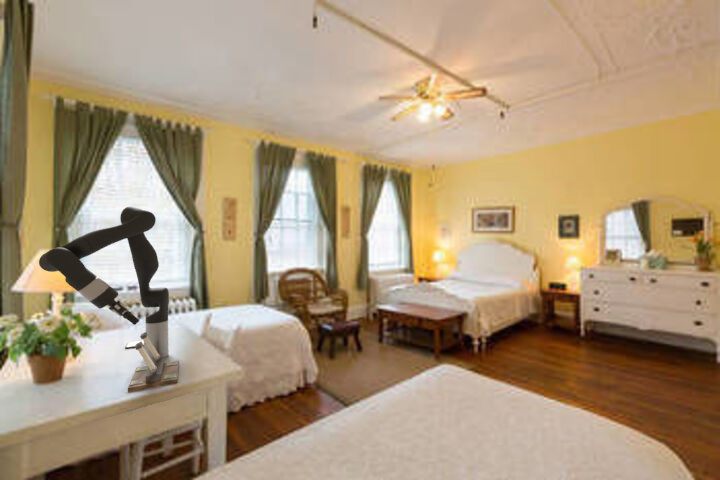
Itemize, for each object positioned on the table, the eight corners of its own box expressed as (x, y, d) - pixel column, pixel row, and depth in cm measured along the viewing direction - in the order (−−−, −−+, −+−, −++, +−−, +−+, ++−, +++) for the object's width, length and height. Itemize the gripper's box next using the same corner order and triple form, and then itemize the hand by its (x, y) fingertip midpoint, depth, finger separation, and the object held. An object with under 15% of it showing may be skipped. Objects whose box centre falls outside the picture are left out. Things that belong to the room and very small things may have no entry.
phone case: (124, 350, 163) (161, 345, 171) (124, 347, 163) (161, 342, 171) (128, 345, 171) (162, 340, 179) (127, 342, 171) (162, 337, 179)
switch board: (127, 392, 119) (127, 380, 119) (136, 370, 137) (136, 360, 137) (177, 382, 126) (176, 371, 126) (179, 363, 145) (179, 354, 145)
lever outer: (151, 374, 123) (134, 347, 121) (153, 370, 127) (136, 343, 124) (156, 371, 124) (139, 344, 122) (157, 367, 128) (141, 341, 125)
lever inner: (155, 361, 136) (140, 336, 133) (156, 358, 139) (141, 334, 137) (160, 359, 137) (144, 334, 134) (161, 356, 140) (145, 331, 137)
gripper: (111, 286, 111) (147, 315, 119) (105, 283, 121) (139, 310, 129) (90, 302, 107) (129, 332, 115) (86, 298, 117) (122, 325, 125)
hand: (134, 320), depth 122 cm, fingers open, 8 cm apart
